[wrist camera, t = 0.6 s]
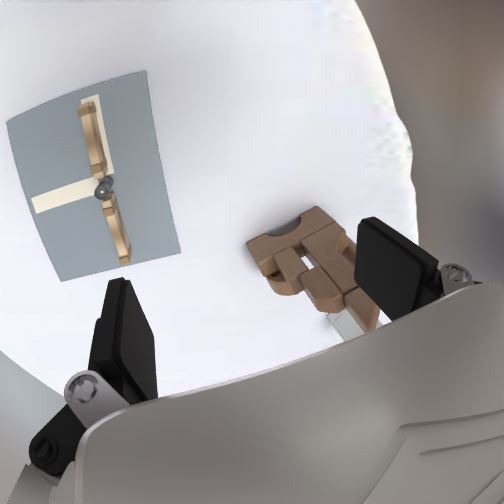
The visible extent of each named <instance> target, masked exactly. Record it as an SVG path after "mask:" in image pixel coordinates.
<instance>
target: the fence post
mask: <svg viewBox="0 0 504 504" xmlns="http://www.w3.org/2000/svg"><path fill="white" fill-rule="evenodd" d="M113 183H114V181H113V178H112V177H111V176H105V177H103V179H102V180H101V181H100V183H99V184H98V186H97V187H96V189H95V191H94V195H95V197H96V198H97V199H99V200H103V199H105V198H106V197H107V195H108V193H109V191H110V189H111V187H112V185H113Z"/></svg>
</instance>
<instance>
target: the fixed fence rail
mask: <svg viewBox="0 0 504 504" xmlns="http://www.w3.org/2000/svg"><path fill="white" fill-rule="evenodd" d="M77 112H78V117H81V120H82V125H83V130H84V135H85V140H86V144H87V149H88V153H89V157H90V161H91V165H92V166H91V167H90V171H91V175H93V174H94V177H95V180H96V179H99V178H103V177H104V176H105V175H106V173H107V172H108V167H107V160H106V158H105V154H104V150H103V145H102V141H101V136H100V131H99V126H98V121H97V115H96V112H97V111H96V106H95V104H94V102H87V103H84V104H82V105H79V109H78V110H77Z"/></svg>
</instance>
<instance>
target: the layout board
mask: <svg viewBox="0 0 504 504" xmlns="http://www.w3.org/2000/svg"><path fill="white" fill-rule="evenodd" d="M87 102H94V104H95V106H96V111H97V112H96V115H97V121H98V126H99V131H100V136H101V141H102V145H103V150H104V154H105V158H106V160H107V167H108V172H107V173H106V175H105V176H111V177H112V178H113V181H114V183H113V185H112V187H111V189H110V191H109V193H111V192H114V194H115V198H116V199H117V202H118V208H119V211H120V215H121V218H122V221H123V225H124V228H125V231H126V234H127V237H128V240H129V243H130V244H131V247H132V258H131V264H127V265H121V264H120V261H119V253H118V250H117V247H116V245H115V242H114V239H113V236H112V233H111V230H110V227H109V224H108V221H107V218H106V217H105V218H104V216H103V212H102V210H103V205H102V201H103V200H99V199H97V198H96V197H95V195H94V191H95V189H96V187H97V186H98V184H99V183H100V181H101V180H102V179H103V178H99V179H96V180H95V177H94V174H93V175H91V171H90V167H91V166H92V165H91V161H90V157H89V153H88V149H87V144H86V140H85V135H84V130H83V125H82V120H81V117H78V112H77V110H78V109H79V105H82V104H84V103H87ZM6 124H7V129H8V134H9V139H10V143H11V148H12V152H13V156H14V160H15V164H16V167H17V171H18V174H19V178H20V181H21V185H22V188H23V191H24V194H25V197H26V200H27V203H28V206H29V209H30V211H31V214H32V217H33V220H34V222H35V225H36V227H37V230H38V232H39V235H40V237H41V240H42V242H43V244H44V247H45V249H46V251H47V254H48V256H49V258H50V260H51V262H52V264H53V267H54V269H55V271H56V273H57V275H58V277H59V279H60V281H61V282H63V281H67V280H71V279H75V278H79V277H83V276H87V275H91V274H95V273H99V272H103V271H108V270H112V269H116V268H120V267H124V266H128V265H132V264H137V263H141V262H145V261H149V260H154V259H158V258H162V257H166V256H171V255H175V254H179V253H181V250H180V246H179V242H178V238H177V234H176V230H175V226H174V222H173V217H172V213H171V209H170V204H169V200H168V195H167V190H166V186H165V181H164V176H163V171H162V166H161V161H160V156H159V151H158V145H157V140H156V134H155V128H154V122H153V116H152V110H151V104H150V97H149V90H148V83H147V75H146V71H142V72H137V73H133V74H129V75H126V76H122V77H118V78H115V79H111V80H108V81H104V82H101V83H98V84H95V85H92V86H89V87H86V88H83V89H80V90H77V91H74V92H72V93H69V94H66V95H64V96H61V97H59V98H56V99H54V100H51V101H49V102H47V103H44V104H42V105H40V106H38V107H35V108H33V109H31V110H29V111H27V112H25V113H23V114H21V115H19V116H17V117H15V118H13V119H11V120H9V121H7V122H6ZM105 176H104V177H105Z"/></svg>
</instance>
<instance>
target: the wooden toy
mask: <svg viewBox="0 0 504 504" xmlns="http://www.w3.org/2000/svg"><path fill="white" fill-rule="evenodd" d="M300 218H301V222H300V224H299V226H298V227H297V228H296V229H294V230H293V231H291V232H290V233H288V234H285V235H283V236H276V237H274V236H268V235H267V234H266V233H264V234H262V235H260V236H259V237H257V238H255V239H253V240H251V241H249V242H247V243H246V244H247V246H248V248H249V250H250V252H251V254H252V256H253V258H254V260H255V262H256V263H257V265H258V267H259V269H260V271H261V273H262V275H263V276H264V277H266V279H267V281H268V283H269V284H270V286H271V288H272V289H273V291H274V292H276V293H277V294H280V295H287V296H289V295H296V294H299V292H301V291H303V290H304V291H305V292H306V294H307V295H308V297H309V298H310V300H311V301H312V303H313V304H314V306H315V307H316V309H317V310H318V311H320V312H327V313H335V314H337V313H339V312H341V311H343V310H344V309H345V308H346V309H347V311H348V312H349V313H350V315H351V316H352V317H353V319H354V320H355V321H356V323H357V324H358V325H359V327H360V328H361V329H362V331H363V332H364V333H367V332H370V331H372V330H374V329H376V325H377V321H378V317H379V313H380V308H379V307H378V306H377V305H376V304H375V302H374V301H373V300H372V299H371V298H370V297H369V296H368V295H367V294H366V293H365V292H364V291H363V290H362V289H361V288H360V287H359V286H358V285H357V284H356V282H355V280H354V268H355V257H356V244H355V243H354V242H353V241H352V240H351V239H350V238H349V237H348V236H346V231H345V229H344V228H342V227H341V226H340V225H339V224H338V223H336V221H335V220H334V219H332V218H331V217H330V216H329V215H328V214H327V213H325V212H324V211H323V210H322V209H320V208H319V207H318V206H316V207H314V208H312V209H310V210H308V211H306V212H305V213H303V214H301V215H300ZM304 256H306V257H307V258H308V260H309V261H310V262H311V263H312V265H313V266H314V268H312V269H310V270H309V269H308V267H307V266H306V265H305V263H304V262H303V261H302V260H301V258H302V257H304Z"/></svg>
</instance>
